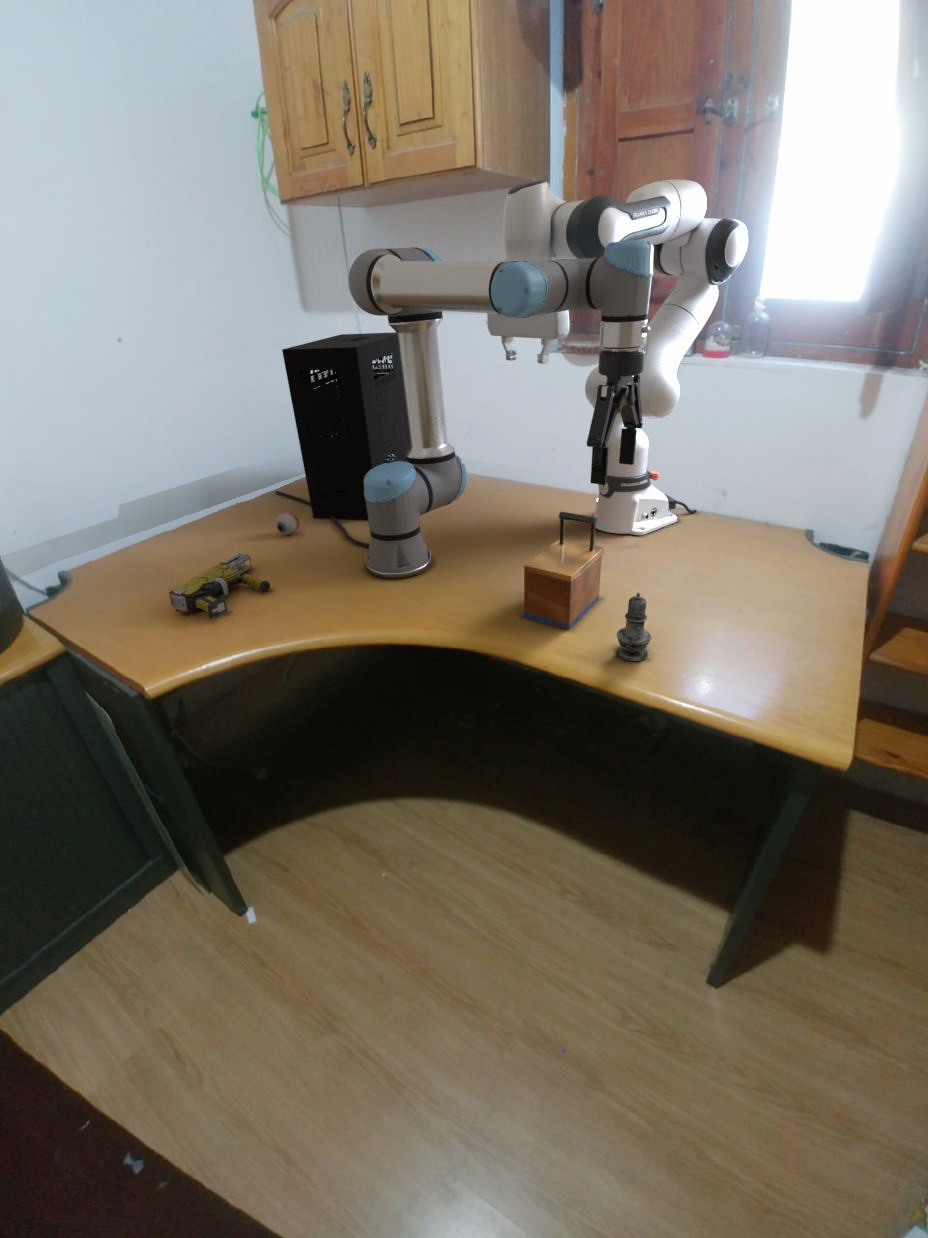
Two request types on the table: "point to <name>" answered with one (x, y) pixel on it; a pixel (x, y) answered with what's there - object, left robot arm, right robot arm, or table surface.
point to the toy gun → (214, 587)
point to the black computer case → (347, 416)
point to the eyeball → (287, 523)
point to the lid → (566, 553)
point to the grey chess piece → (634, 631)
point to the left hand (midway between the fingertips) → (613, 473)
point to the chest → (561, 596)
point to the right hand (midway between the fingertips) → (526, 361)
